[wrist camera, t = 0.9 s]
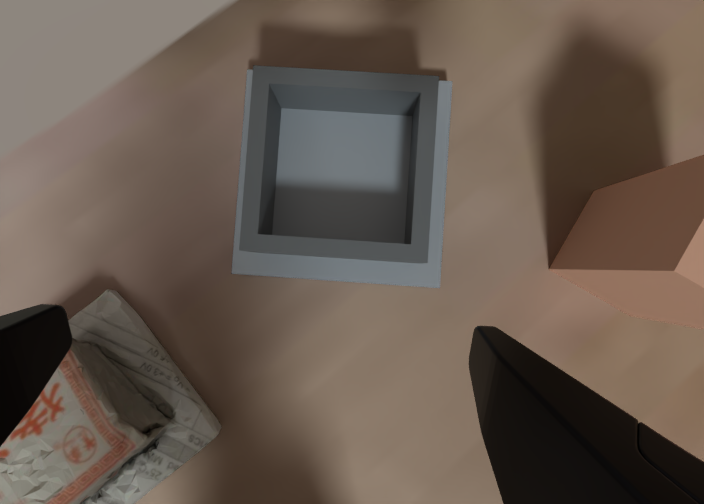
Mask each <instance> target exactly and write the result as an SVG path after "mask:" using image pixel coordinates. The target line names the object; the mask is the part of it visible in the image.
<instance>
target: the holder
mask: <svg viewBox="0 0 704 504" xmlns="http://www.w3.org/2000/svg"><path fill="white" fill-rule="evenodd" d="M451 95H452V81H439V76H428V75H411V74H394V73H376V72H359V71H342V70H324V69H307V68H289V67H272V66H255V65H253V70H249V69H247V79H246V92H245V105H244V118H243V131H242V144H241V157H240V170H239V183H238V195H237V208H236V221H235V234H234V247H233V260H232V273H231V274H243V275H258V276H272V277H287V278H301V279H316V280H331V281H345V282H360V283H374V284H389V285H403V286H418V287H432V288H440V277H441V260H442V244H443V227H444V211H445V194H446V178H447V161H448V145H449V128H450V112H451Z"/></svg>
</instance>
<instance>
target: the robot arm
mask: <svg viewBox="0 0 704 504" xmlns="http://www.w3.org/2000/svg"><path fill="white" fill-rule="evenodd" d="M71 345H72V333H71V330H70V326H69V322H68V318H67V314H66V311H65V309H64V308H63V307H62V306H60V305H49V304H41V305H37V306H33V307H30V308H27V309H23V310H20V311H16V312H13V313H10V314H6V315H3V316H0V447H1V446H2V444H3V443H4V442H5V440H6V439H7V438H8V437H9V435H10V434H11V433H12V432H13V430H14V429H15V428H16V427H17V425H18V424H19V423H20V422H21V420H22V419H23V418H24V416H25V415H26V414H27V413H28V411H29V410H30V409H31V407H32V406H33V404H34V403H35V401H36V400H37V398H38V397H39V395H40V394H41V392H42V391H43V389H44V388H45V386H46V385H47V383H48V382H49V380H50V379H51V377H52V376H53V374H54V373H55V371H56V369H57V368H58V366H59V365H60V363H61V362H62V360H63V359H64V357H65V356H66V354H67V353H68V351H69V350H70V348H71ZM469 370H470V376H471V381H472V386H473V391H474V397H475V402H476V407H477V413H478V418H479V423H480V428H481V432H482V436H483V440H484V443H485V446H486V449H487V453H488V456H489V459H490V462H491V465H492V469H493V472H494V475H495V478H496V481H497V484H498V488H499V491H500V494H501V497H502V500H503V503H504V504H704V462H703V461H702V460H700V459H698V458H696V457H695V456H693V455H692V454H690V453H689V452H687V451H685V450H684V449H682V448H681V447H679V446H677V445H676V444H674V443H673V442H671V441H670V440H668V439H666V438H665V437H663V436H662V435H660V434H659V433H657V432H656V431H654V430H653V429H651V428H650V427H648V426H647V425H645V424H644V423H641V422H640V423H638V420H637V419H636V418H634V417H633V416H631V415H630V414H628V413H626V412H625V411H623V410H622V409H620V408H619V407H617V406H616V405H614V404H613V403H611V402H610V401H608V400H607V399H605V398H604V397H602V396H600V395H599V394H597V393H596V392H594V391H593V390H591V389H590V388H588V387H587V386H585V385H584V384H582V383H581V382H579V381H578V380H576V379H574V378H573V377H571V376H570V375H568V374H567V373H565V372H564V371H562V370H561V369H559V368H558V367H556V366H555V365H553V364H552V363H550V362H548V361H547V360H545V359H544V358H542V357H541V356H539V355H538V354H536V353H535V352H533V351H532V350H530V349H529V348H527V347H525V346H524V345H522V344H521V343H519V342H518V341H516V340H515V339H513V338H512V337H510V336H509V335H507V334H506V333H504V332H503V331H501V330H499V329H498V328H496V327H493V326H477V327H476V328H475V329H474V332H473V338H472V344H471V349H470V355H469Z"/></svg>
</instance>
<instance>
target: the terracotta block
mask: <svg viewBox="0 0 704 504" xmlns="http://www.w3.org/2000/svg"><path fill="white" fill-rule="evenodd" d="M549 270H551V271H553V272H554V273H556V274H558V275H560V276H561V277H563V278H565V279H567V280H568V281H570V282H572V283H574V284H575V285H577V286H579V287H580V288H582V289H584V290H586V291H587V292H589V293H591V294H593V295H594V296H596V297H598V298H600V299H601V300H603V301H605V302H606V303H608V304H610V305H612V306H613V307H615V308H617V309H619V310H620V311H622V312H624V313H626V314H627V315H629V316H633V317H639V318H644V319H649V320H655V321H660V322H666V323H671V324H677V325H682V326H688V327H693V328H699V329H704V155H702V156H699V157H696V158H693V159H689V160H686V161H683V162H680V163H677V164H674V165H671V166H668V167H665V168H662V169H659V170H656V171H653V172H649V173H646V174H643V175H640V176H637V177H634V178H631V179H628V180H625V181H622V182H619V183H616V184H613V185H610V186H606V187H603V188H600V189H597V190H594V191H593V193H592V195H591V197H590V198H589V200H588V202H587V203H586V205H585V207H584V209H583V210H582V212H581V214H580V216H579V217H578V219H577V221H576V223H575V224H574V226H573V228H572V230H571V231H570V233H569V235H568V237H567V238H566V240H565V242H564V243H563V245H562V247H561V249H560V250H559V252H558V254H557V256H556V257H555V259H554V261H553V263H552V264H551V266H550V268H549Z"/></svg>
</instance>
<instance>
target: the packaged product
mask: <svg viewBox="0 0 704 504" xmlns="http://www.w3.org/2000/svg"><path fill="white" fill-rule="evenodd" d="M68 322H69V326H70V330H71V333H72V345H71V348H70V350H69V351H68V353H67V354H66V356H65V357H64V359H63V360H62V362H61V363H60V365H59V366H58V368H57V369H56V371H55V373H54V374H53V376H52V377H51V379H50V380H49V382H48V383H47V385H46V386H45V388H44V389H43V391H42V392H41V394H40V395H39V397H38V398H37V400H36V401H35V403H34V404H33V406H32V407H31V409H30V410H29V411H28V413H27V414H26V415H25V416H24V418H23V419H22V420H21V422H20V423H19V424H18V425H17V427H16V428H15V429H14V430H13V432H12V433H11V434H10V435H9V437H8V438H7V439H6V440H5V442H4V443H3V444H2V446H1V447H0V504H134V503H136V502H137V501H138V500H139V499H141V498H142V497H143V496H144V495H146V494H147V493H148V492H149V491H150V490H152V489H153V488H154V487H155V486H156V485H158V484H159V483H160V482H161V481H163V480H164V479H165V478H166V477H168V476H169V475H170V474H171V473H173V472H174V471H175V470H176V469H178V468H179V467H180V466H182V465H183V464H184V463H185V462H187V461H188V460H189V459H190V458H192V457H193V456H194V455H195V454H197V453H198V452H199V451H200V450H201V449H203V448H204V447H205V446H206V445H207V444H208V443H210V442H211V441H212V440H213V439H214V438H215V437H216V436H217V435H218V434H219V432H220V429H221V427H222V426H221V425H220V423H219V421H218V420H217V418H216V417H215V415H214V414H213V413H212V411H211V410H210V409H209V408H208V406H207V405H206V404H205V402H204V401H203V400H202V398H201V397H200V396H199V394H198V393H197V392H196V390H195V389H194V388H193V387H192V385H191V384H190V383H189V381H188V380H187V379H186V378H185V377H184V375H183V374H182V372H181V371H180V370H179V368H178V367H177V366H176V364H175V363H174V361H173V360H172V359H171V357H170V356H169V355H168V353H167V352H166V350H165V349H164V348H163V346H162V345H161V344H160V342H159V341H158V340H157V338H156V337H155V336H154V334H153V333H152V332H151V330H150V329H149V328H148V327H147V325H146V324H145V323H144V321H143V320H142V319H141V317H140V316H139V315H138V314H137V312H136V311H135V310H134V309H133V308H132V307H131V306H130V305H129V304H128V303H127V302H126V301H125V300H124V299H123V298H122V297H121V296H120V295H119V293H118V292H117V291H116V290H109V289H107V290H106V291H105V292H104V293H102V294H101V295H100V296H99V297H98V298H97V299H95V300H94V301H93V302H92V303H90V304H89V305H88V306H87V307H85V308H84V309H82V310H81V311H79V312H78V313H77V314H76V315H74V316H73V317H72V318H71V319H70V320H69V321H68Z"/></svg>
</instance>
